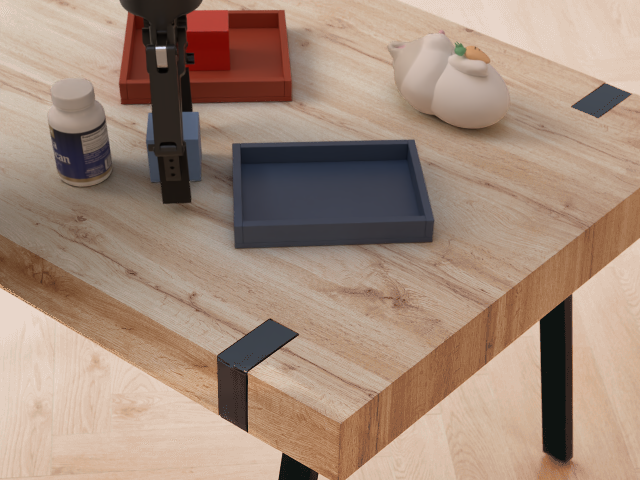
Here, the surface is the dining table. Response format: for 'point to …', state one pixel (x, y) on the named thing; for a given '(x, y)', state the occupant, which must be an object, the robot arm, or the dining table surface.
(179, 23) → the robot arm
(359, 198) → the blue tray
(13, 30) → the dining table surface
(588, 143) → the dining table surface
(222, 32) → the red cube
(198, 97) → the red tray
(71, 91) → the pill bottle
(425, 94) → the animal figurine with carrot
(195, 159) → the blue cube
